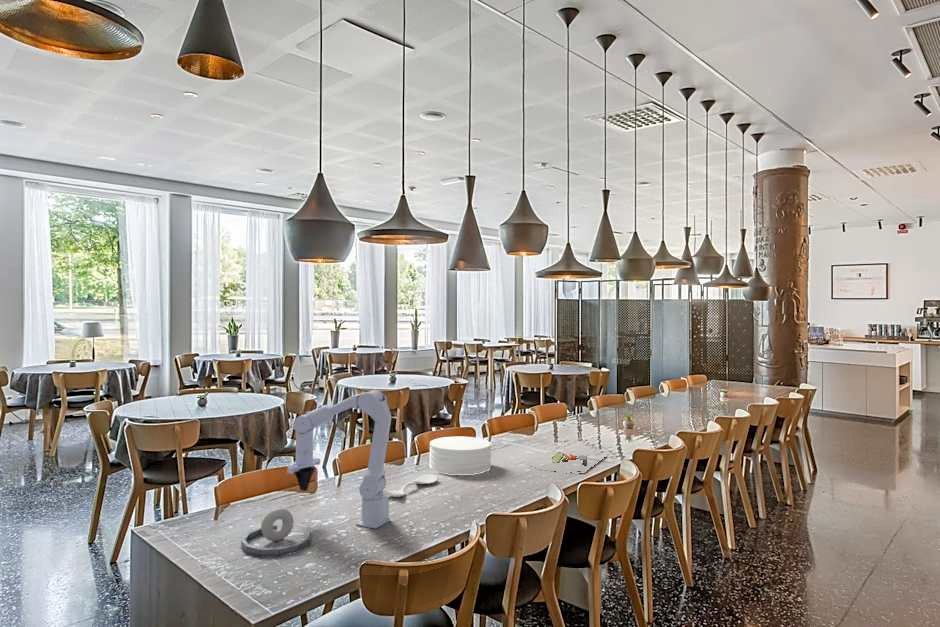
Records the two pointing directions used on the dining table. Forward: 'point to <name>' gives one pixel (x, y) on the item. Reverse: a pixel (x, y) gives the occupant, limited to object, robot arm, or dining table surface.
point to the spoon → (420, 480)
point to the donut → (283, 530)
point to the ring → (272, 551)
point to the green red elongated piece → (560, 455)
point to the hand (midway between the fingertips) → (303, 489)
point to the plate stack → (460, 455)
